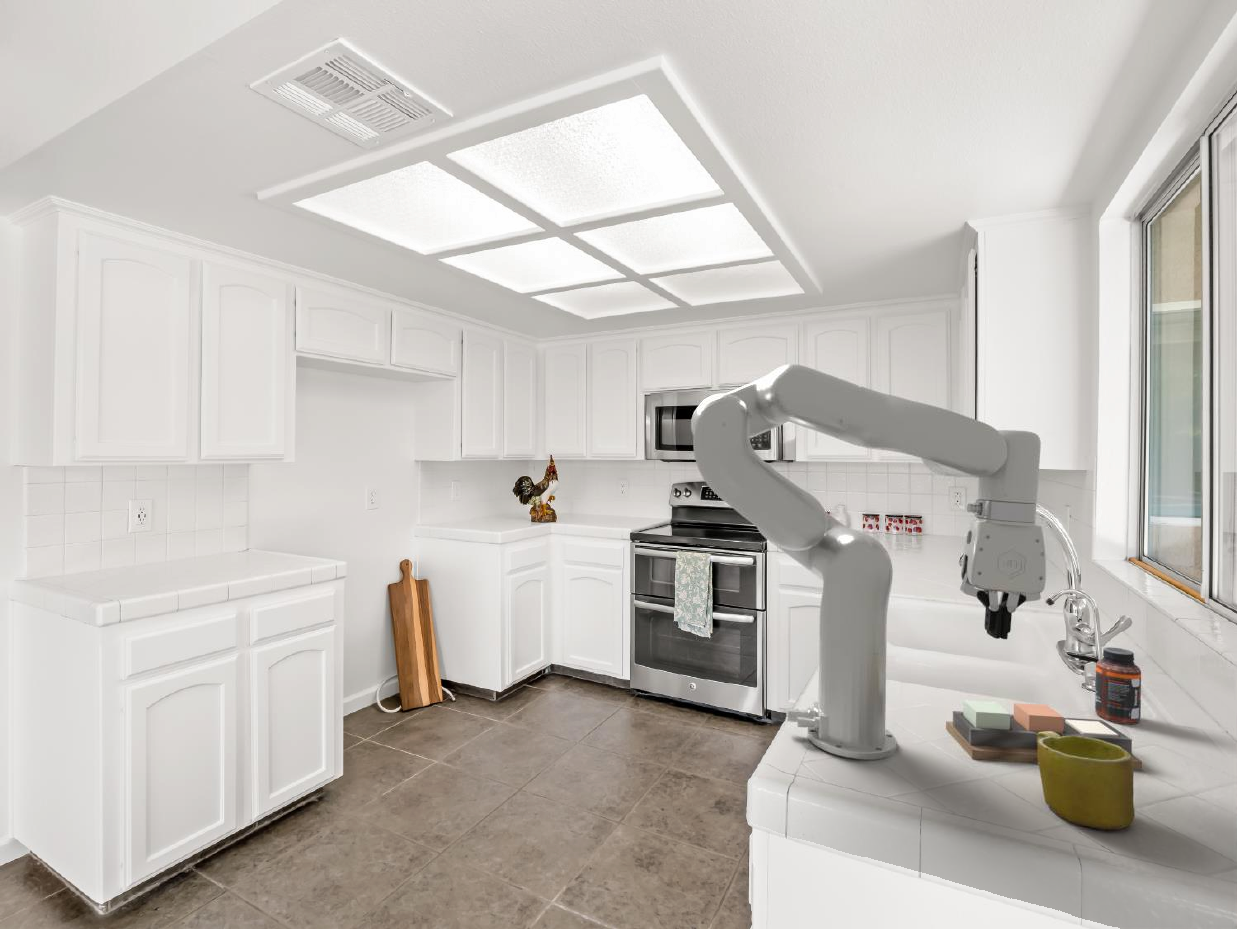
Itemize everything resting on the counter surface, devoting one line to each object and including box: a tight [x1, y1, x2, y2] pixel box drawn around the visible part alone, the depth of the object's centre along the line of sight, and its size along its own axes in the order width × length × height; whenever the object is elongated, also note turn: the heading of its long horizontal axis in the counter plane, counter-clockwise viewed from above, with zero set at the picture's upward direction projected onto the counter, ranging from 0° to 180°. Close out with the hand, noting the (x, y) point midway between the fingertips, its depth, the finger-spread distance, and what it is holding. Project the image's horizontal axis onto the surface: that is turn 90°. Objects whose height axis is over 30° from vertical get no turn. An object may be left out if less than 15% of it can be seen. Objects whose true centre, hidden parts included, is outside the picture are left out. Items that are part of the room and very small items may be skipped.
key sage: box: [962, 699, 1011, 730], centre depth 95 cm, size 5×5×2 cm
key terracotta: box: [1013, 702, 1065, 733], centre depth 94 cm, size 5×5×2 cm
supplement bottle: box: [1094, 646, 1142, 725], centre depth 105 cm, size 6×6×11 cm
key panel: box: [945, 710, 1143, 771], centre depth 94 cm, size 22×10×4 cm, turn 82°
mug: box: [1037, 731, 1135, 830], centre depth 78 cm, size 12×10×10 cm
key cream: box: [1065, 720, 1118, 737], centre depth 93 cm, size 5×5×2 cm
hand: (996, 636), depth 95 cm, fingers closed
